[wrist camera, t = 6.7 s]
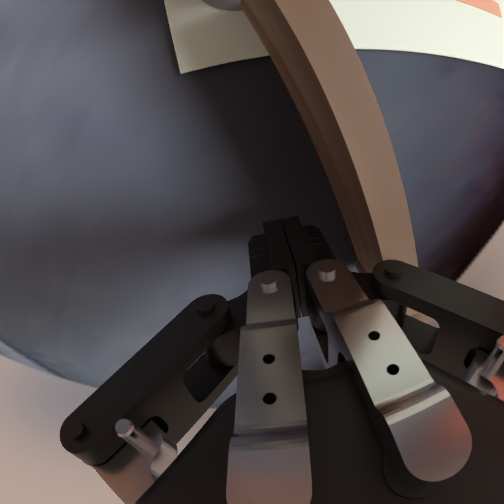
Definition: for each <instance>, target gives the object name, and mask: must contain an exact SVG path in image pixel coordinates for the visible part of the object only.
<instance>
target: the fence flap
mask: <svg viewBox="0 0 504 504" xmlns="http://www.w3.org/2000/svg"><path fill="white" fill-rule="evenodd" d="M241 8H242V10H243V11H244V13H245V15H246V16H247V18H248V19H249V21H250V23H251V24H252V26H253V28H254V29H255V31H256V33H257V34H258V36H259V38H260V40H261V41H262V43H263V45H264V46H265V48H266V50H267V52H268V54H269V55H270V57H271V59H272V61H273V63H274V64H275V66H276V68H277V70H278V72H279V74H280V76H281V78H282V79H283V81H284V83H285V85H286V87H287V89H288V91H289V93H290V95H291V97H292V99H293V101H294V103H295V105H296V107H297V109H298V111H299V113H300V116H301V118H302V120H303V122H304V124H305V126H306V128H307V131H308V133H309V135H310V137H311V139H312V142H313V144H314V146H315V148H316V151H317V153H318V155H319V158H320V160H321V162H322V165H323V167H324V169H325V172H326V174H327V177H328V179H329V182H330V184H331V187H332V189H333V192H334V194H335V197H336V200H337V202H338V205H339V207H340V210H341V213H342V215H343V218H344V221H345V224H346V226H347V229H348V232H349V235H350V238H351V241H352V244H353V247H354V250H355V253H356V256H357V259H356V267H357V269H358V271H359V273H373V269H374V267H375V265H376V264H377V263H379V262H381V261H384V260H399V261H402V262H405V263H408V264H411V265H413V266H416V267H418V263H417V256H416V249H415V243H414V237H413V231H412V225H411V220H410V215H409V210H408V206H407V201H406V197H405V192H404V188H403V184H402V180H401V176H400V172H399V168H398V165H397V161H396V157H395V154H394V151H393V147H392V144H391V141H390V137H389V134H388V131H387V128H386V125H385V122H384V119H383V116H382V114H381V111H380V108H379V105H378V103H377V100H376V97H375V95H374V92H373V90H372V87H371V85H370V82H369V80H368V77H367V75H366V73H365V70H364V68H363V66H362V63H361V61H360V59H359V57H358V55H357V52H356V50H355V48H354V46H353V44H352V42H351V40H350V38H349V36H348V34H347V32H346V30H345V28H344V26H343V24H342V22H341V21H340V19H339V17H338V15H337V13H336V11H335V10H334V8H333V6H332V4H331V3H330V1H329V0H241ZM406 315H409V316H411V317H413V318H415V319H418V320H420V321H422V322H424V323H427V324H429V320H428V318H427V317H426V315H424V314H422V313H420V312H417V311H415V310H413V309H410V308H408V307H407V311H406Z"/></svg>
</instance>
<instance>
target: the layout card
mask: <svg viewBox="0 0 504 504" xmlns="http://www.w3.org/2000/svg"><path fill="white" fill-rule="evenodd" d="M329 1H330V3H331V4H332V6H333V8H334V10H335V11H336V13H337V15H338V17H339V19H340V21H341V22H342V24H343V26H344V28H345V30H346V32H347V34H348V36H349V38H350V40H351V42H352V44H353V46H354V48H355V49H365V50H392V51H406V52H417V53H425V54H433V55H440V56H447V57H453V58H458V59H463V60H468V61H473V62H478V63H482V64H486V65H490V66H494V67H498V68H501V69H504V0H329ZM164 3H165V8H166V12H167V17H168V22H169V26H170V30H171V35H172V39H173V44H174V48H175V52H176V57H177V61H178V65H179V69H180V74H184V73H188V72H191V71H195V70H199V69H203V68H207V67H211V66H216V65H220V64H225V63H230V62H235V61H240V60H245V59H251V58H257V57H263V56H270V55H269V54H268V52H267V50H266V48H265V46H264V45H263V43H262V41H261V40H260V38H259V36H258V34H257V33H256V31H255V29H254V28H253V26H252V24H251V23H250V21H249V19H248V18H247V16H246V15H245V13H244V11H243V10H242V8H241V0H164Z"/></svg>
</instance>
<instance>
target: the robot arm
mask: <svg viewBox="0 0 504 504" xmlns="http://www.w3.org/2000/svg"><path fill="white" fill-rule="evenodd" d="M263 226H264V231H265V234H260V235H255V236H252V238H251V239H250V241H249V243H248V246H249V257H250V269H251V280H250V281H249V283H248V290H247V291H246V292H245V293H243V294H242V295H240V296H239V297H236V298H234V299H232V300H229V301H227V300H226V299H225V298H224V297H222V296H220V295H216V294H209V295H204V296H201V297H199V298H197V299H195V300H194V301H192V302H191V303H190V304H189V305H188V306H187V307H186V308H185V309H183V310H182V311H181V312H180V313H179V314H178V315H177V316H176V317H175V318H174V319H173V320H172V321H170V322H169V323H168V324H167V325H166V326H165V327H164V328H163V329H162V330H161V331H160V332H159V333H157V334H156V335H155V336H154V337H153V338H152V339H151V340H150V341H149V342H148V343H147V344H146V345H145V346H143V347H142V348H141V349H140V350H139V351H138V352H137V353H136V354H135V355H134V356H133V357H132V358H130V359H129V360H128V361H127V362H126V363H125V364H124V365H123V366H122V367H121V368H120V369H119V370H118V371H116V372H115V373H114V374H113V375H112V376H111V377H110V378H109V379H108V380H107V381H106V382H105V383H104V384H103V385H101V386H100V387H99V388H98V389H97V390H96V391H95V392H94V393H93V394H92V395H91V396H90V397H89V398H87V399H86V400H85V401H84V402H83V403H82V404H81V405H80V406H79V407H78V408H77V409H76V410H75V411H74V412H72V413H71V414H70V415H69V416H68V417H67V418H66V419H65V421H64V422H63V424H62V426H61V430H60V441H61V443H62V445H63V447H64V448H65V449H66V450H67V451H69V452H70V453H72V454H73V455H75V456H76V457H78V458H79V459H81V460H82V461H83V462H84V463H86V464H87V465H89V466H91V467H92V468H94V469H95V470H96V471H97V472H98V474H99V475H100V476H101V477H102V479H103V480H104V481H105V482H106V483H107V484H108V485H109V487H110V488H111V489H112V490H113V491H114V492H115V493H116V494H117V496H118V497H119V498H120V499H121V500H122V501H123V502H124V503H125V504H504V301H503V300H500V299H498V298H495V297H493V296H491V295H488V294H486V293H483V292H481V291H478V290H476V289H473V288H471V287H468V286H466V285H463V284H460V283H458V282H456V281H453V280H450V279H448V278H445V277H443V276H440V275H437V274H435V273H432V272H429V271H427V270H424V269H421V268H419V267H416V266H413V265H411V264H408V263H405V262H402V261H399V260H384V261H381V262H379V263H377V264H376V265H375V267H374V269H373V273H356V272H351V271H349V269H348V268H347V266H346V265H345V264H344V263H342V262H340V261H337V260H336V258H335V256H334V255H333V253H332V251H331V249H330V247H329V245H328V243H327V241H326V240H325V238H324V236H323V234H322V232H321V230H320V229H318V228H317V227H315V226H313V225H307V226H302V224H301V222H300V220H299V217H298V216H293V217H288V218H282V219H281V221H280V219H277V220H272V221H267V222H263ZM407 307H408V308H410V309H413V310H415V311H417V312H420V313H422V314H424V315H426V316H429V317H431V318H433V319H435V320H436V321H437V322H438V324H439V326H440V328H436V327H433V326H431V325H429V324H427V323H424V322H422V321H420V320H418V319H415V318H413V317H411V316H409V315H406V311H407ZM300 310H301V314H302V317H305V316H309V317H310V321H311V331H312V335H313V337H314V340H315V342H316V345H317V348H318V350H319V353H320V355H321V358H322V361H323V363H324V366H325V369H326V370H302V367H301V358H300V350H299V341H298V333H297V332H298V328H299V327H298V318H300V317H301V314H300ZM202 354H203V355H202ZM201 355H202V356H201ZM200 356H201V357H200ZM199 357H200V358H199ZM198 358H199V359H198ZM197 359H198V360H197ZM196 360H197V361H196ZM195 361H196V362H195ZM194 362H195V363H194ZM193 363H194V364H193ZM192 364H193V365H192ZM191 365H192V366H191ZM190 366H191V367H190ZM189 367H190V368H189ZM237 375H238V376H237ZM236 376H237V392H236V393H235V394H234V395H232V396H231V397H229V398H228V399H227V400H226V401H224V402H223V403H222V404H221V405H220V406H219V407H218V408H217V410H216V411H215V412H214V413H213V414H212V416H211V417H210V418H209V419H208V421H207V422H206V423H205V424H204V426H203V427H202V428H201V429H200V431H199V432H198V433H197V434H196V435H195V436H194V438H193V439H192V440H191V441H190V442H189V444H188V445H187V446H186V447H185V448H184V449H183V450H182V452H181V453H180V454H179V455H178V456H177V454H178V451H177V446H176V444H177V443H178V442H179V441H180V439H181V438H182V437H183V436H184V435H185V434H186V433H187V432H188V431H189V430H190V429H191V427H192V426H193V425H194V424H195V423H196V422H197V421H198V420H199V418H201V416H202V415H203V414H204V413H205V412H206V411H207V410H208V409H209V407H210V406H211V405H212V404H213V403H214V402H215V401H216V399H217V398H218V397H219V396H220V395H221V394H222V392H223V391H224V390H225V389H226V388H227V387H228V385H229V384H230V383H231V382H232V381H233V379H234V378H235V377H236Z"/></svg>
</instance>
